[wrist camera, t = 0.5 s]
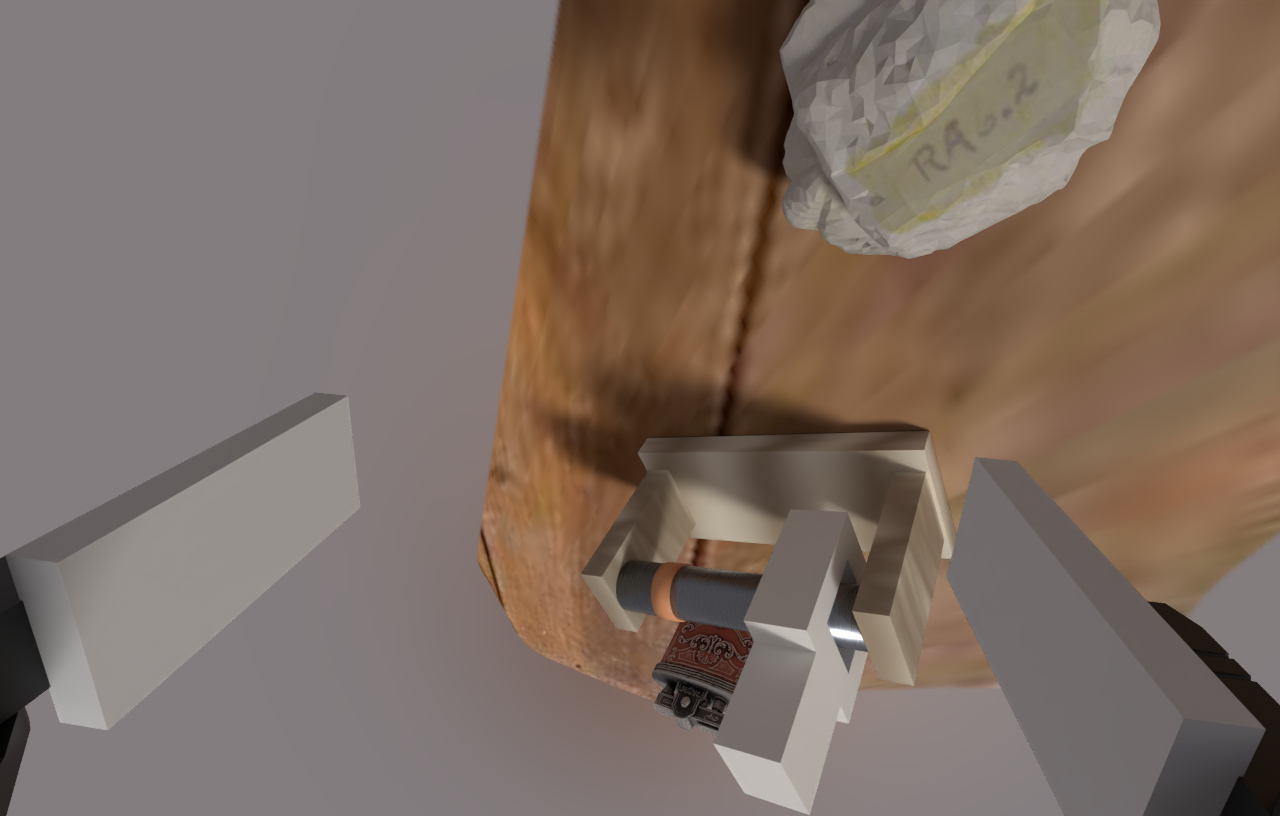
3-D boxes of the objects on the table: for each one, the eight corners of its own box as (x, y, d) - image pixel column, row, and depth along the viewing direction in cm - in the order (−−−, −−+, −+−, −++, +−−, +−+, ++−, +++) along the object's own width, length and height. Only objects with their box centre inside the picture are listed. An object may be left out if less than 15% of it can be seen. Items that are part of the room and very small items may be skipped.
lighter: (696, 611, 57) (643, 719, 50) (687, 585, 55) (631, 694, 48) (787, 635, 52) (743, 756, 46) (781, 609, 51) (734, 732, 44)
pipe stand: (929, 430, 34) (885, 595, 27) (956, 538, 38) (924, 707, 31) (647, 438, 45) (565, 557, 38) (690, 521, 49) (623, 644, 42)
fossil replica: (758, 156, 30) (976, 239, 28) (694, 263, 25) (956, 369, 23) (875, -202, 20) (1213, -101, 19) (810, -145, 15) (1264, -2, 14)
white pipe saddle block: (847, 511, 33) (768, 741, 25) (880, 604, 36) (819, 832, 28) (790, 509, 35) (699, 722, 27) (827, 597, 38) (755, 810, 30)
